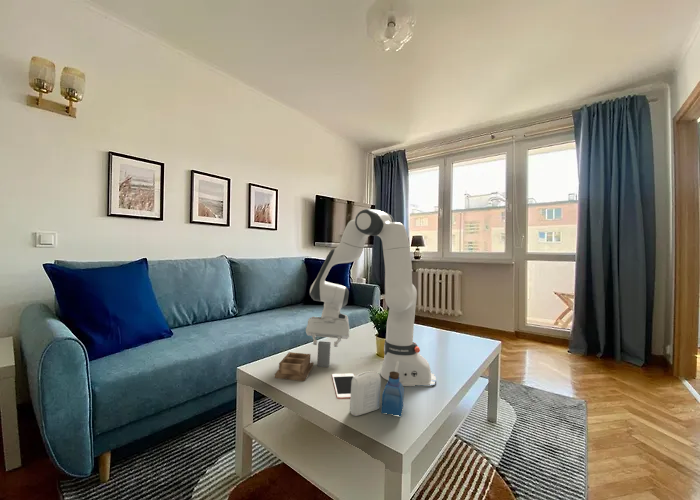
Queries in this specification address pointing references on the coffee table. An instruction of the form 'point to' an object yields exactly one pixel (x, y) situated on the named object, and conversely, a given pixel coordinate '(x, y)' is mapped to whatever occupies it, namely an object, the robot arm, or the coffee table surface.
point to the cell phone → (342, 385)
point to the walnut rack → (294, 367)
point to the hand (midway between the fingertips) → (325, 345)
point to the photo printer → (365, 393)
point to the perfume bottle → (393, 395)
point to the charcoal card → (323, 354)
